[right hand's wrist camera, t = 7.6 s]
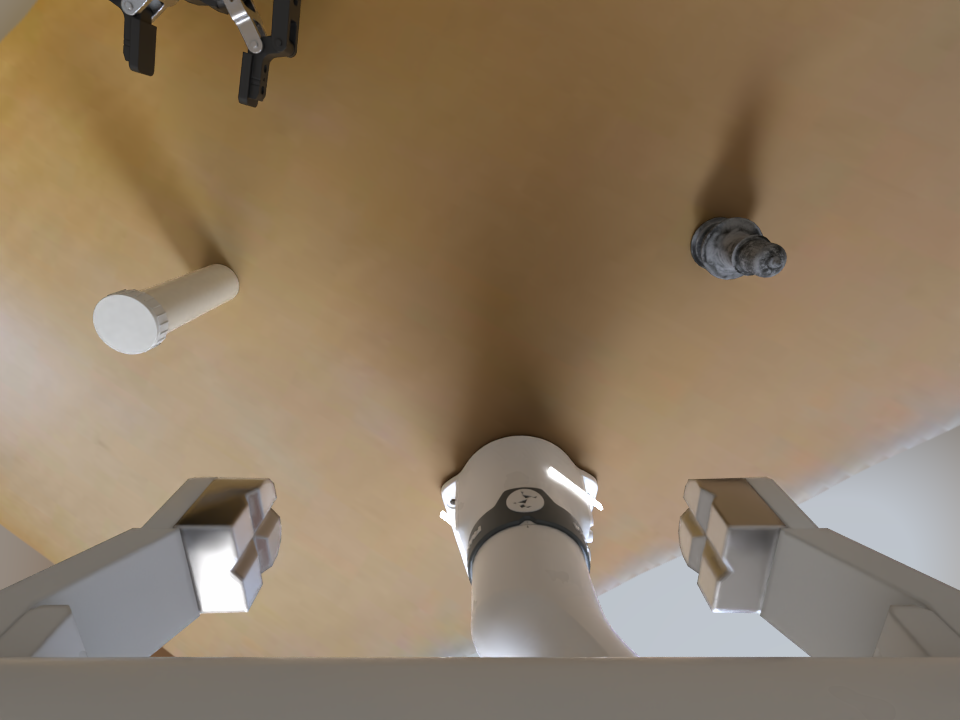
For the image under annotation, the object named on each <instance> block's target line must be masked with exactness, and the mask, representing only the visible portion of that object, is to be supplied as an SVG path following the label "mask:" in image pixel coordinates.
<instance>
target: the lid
mask: <svg viewBox="0 0 960 720" xmlns="http://www.w3.org/2000/svg"><path fill="white" fill-rule="evenodd" d="M93 322H94V327H95V329H96V332H97V333H98V335H99V336H100V338H101V339H102V340H103V341H104V342H105V343H106V344H107V345H108V346H109V347H111V348H113V349H114V350H116V351H118V352H121V353H125V354H140V353H143V352H147V351H148V350H150V349H152V348H154V347H156V346H158V345H160V344H161V342H162V341H163V340H164V339H165V338H166V335H167V332H168V331H169V330H168V323H169V321H168V318H167V315H166V312H165V311H164V309H163V307H162V306H161V304H159V302H158V301H157V300H155V299H154V297H151V296H150V295H148V294H146V293H145V292H141V291H137V290H135V289H133V290H126V289H124V290H122V291H119V292H115V293H113V294H110V295H107V297H105V298H103V299H102V300H100V301H99V302H98V304H97V305H96V307H95V309H94V313H93Z"/></svg>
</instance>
